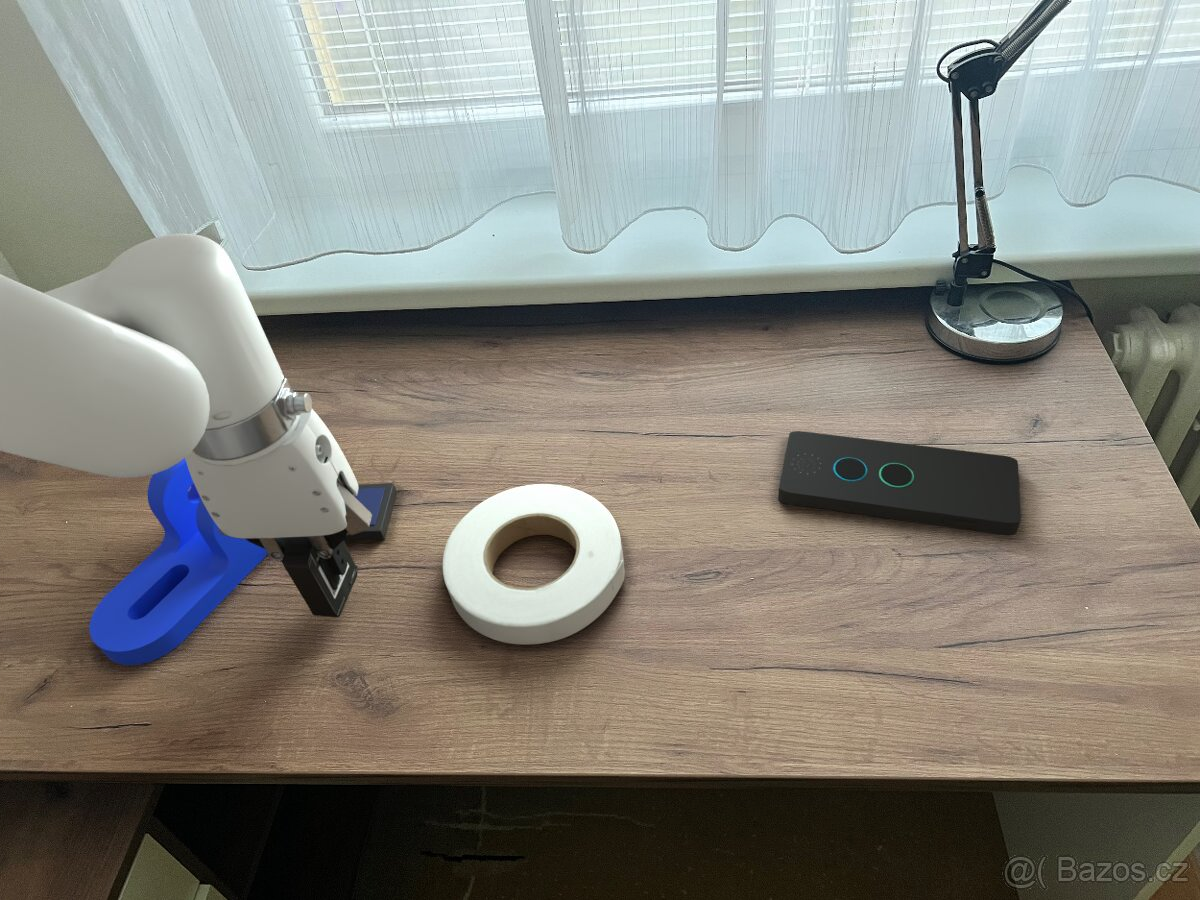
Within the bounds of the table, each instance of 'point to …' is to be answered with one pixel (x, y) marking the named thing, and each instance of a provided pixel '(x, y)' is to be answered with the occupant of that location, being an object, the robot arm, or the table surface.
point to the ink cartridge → (318, 578)
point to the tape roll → (545, 606)
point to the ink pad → (375, 510)
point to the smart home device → (902, 482)
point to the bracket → (172, 576)
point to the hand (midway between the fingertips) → (322, 575)
